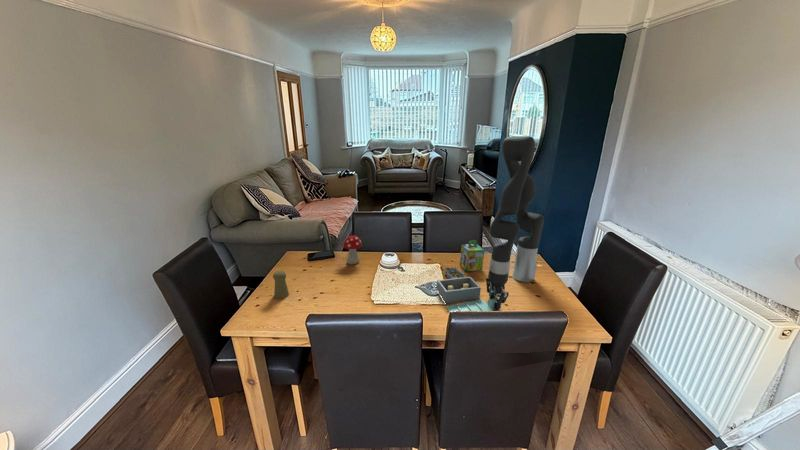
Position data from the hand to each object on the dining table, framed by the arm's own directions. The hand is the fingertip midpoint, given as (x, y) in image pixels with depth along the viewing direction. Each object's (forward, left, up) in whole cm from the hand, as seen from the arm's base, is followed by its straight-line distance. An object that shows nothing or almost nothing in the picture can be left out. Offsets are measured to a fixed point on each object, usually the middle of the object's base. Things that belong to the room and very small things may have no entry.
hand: (494, 306), depth 134 cm
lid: (+8, 0, -1) cm, 8 cm away
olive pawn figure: (+85, -30, -1) cm, 90 cm away
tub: (+11, -12, -1) cm, 16 cm away
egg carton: (+5, -29, -1) cm, 30 cm away
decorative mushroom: (+51, -56, -1) cm, 76 cm away
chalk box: (-8, -37, -1) cm, 38 cm away
